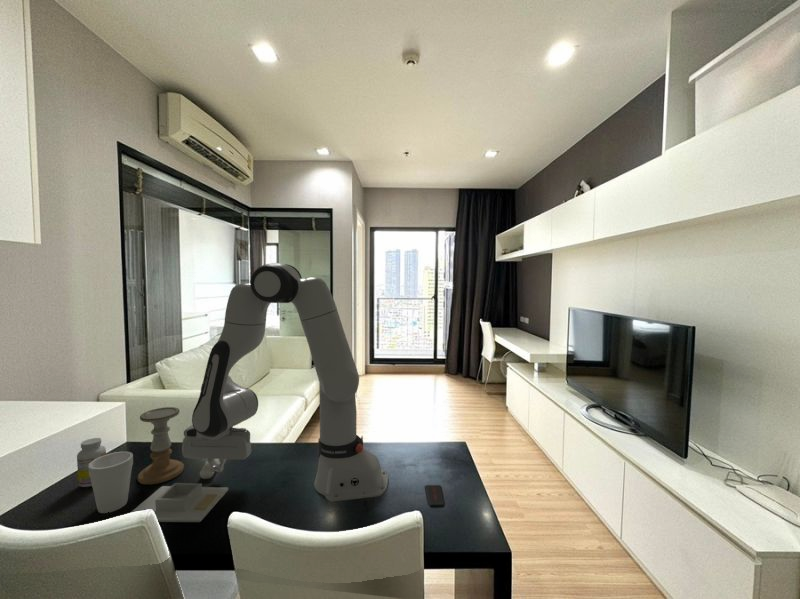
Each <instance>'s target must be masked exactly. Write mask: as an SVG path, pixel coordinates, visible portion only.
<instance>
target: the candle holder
mask: <svg viewBox="0 0 800 599" xmlns="http://www.w3.org/2000/svg"><path fill="white" fill-rule="evenodd" d="M179 414H180V409H179V408H178V407H175V406H174V407H172V406H168V407H167V406H165V407H157V408H154V409H149V410H147V411H145V412H143V413H141V414H140V416H139V419H140V421H141V422H143V423H151V424H152V425H153V429H152V430H151V431H150V434H151V435H152V436H153V437H152V441H151V444H150V450H151V451H152V452H151V453H150V455H149V458H151V459H152V463H151V464H149V465H148V466H146V467H145V468H143V469H142V470H141V471H140V472H138V473H139V474H138V475H137V481H138V483H140V484H141V485H158V484H161V483H162V484H163V483H165V482H168V481H171V480H172V479H174V478H177V477H179V475H181V474H182V473H183V472H184V469H185V464H184V463H183V462H182V461H180V460H177V459H171V457H170V456H171V454H172V452H173V450H172V449H171V446H172V440H171V438H170V435H169V431H171V428H170V427H169V426H168V422H169V421H170V419H173V418H175V417H176V416H179Z"/></svg>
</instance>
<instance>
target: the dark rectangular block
mask: <svg viewBox="0 0 800 599" xmlns="http://www.w3.org/2000/svg"><path fill="white" fill-rule="evenodd" d="M424 492H425V497H426V502H427V503H426V504H427V505H428V506H429V507H431V508H435V507H437V508H438V507H440V508H441V507H445V506H446V503H445V502H446V501H445V497H444V493H443V492H444V491H443V487H442V486H441V485H439V484H436V485H435V484H433V485H432V484H430V485H429V484H427V485H425V486H424Z"/></svg>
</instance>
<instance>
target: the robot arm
mask: <svg viewBox="0 0 800 599" xmlns="http://www.w3.org/2000/svg"><path fill="white" fill-rule="evenodd" d="M290 303H292V304H293V305H294V307H295V308H296V311H297V314H298V317H299V321H300V323H301V326H302V327H301V328H302V329H303V333H304V335H305V338H306V342H307V344H308V348H309V352H310V355H311V358H312V362H313V365H314V370H315V372H316V375H317V379H318V382H319V386H318V387H319V438H318V442H317V454H318V466H317V470H316V472H317V473H316V476H315V480H314V483H313V484H314V485H313V486H314V487H313V488H314V489H315V491H316V492H317V493H318V494H321V495H322V496H324V497H325V499H326V500H327V501H328V502H329V503H330V502H340V501H349V500H350V501H351V500H357V499H364V498H365V499H368V498H376V497H380V496H382V495H383V494H384V493H385V492H386V490H387V489H388V486H389V475H388V472H387V471H386V469H384V468H381V463H380V460H379V458H378V457H377V456H376V455H375V454H374V453H372V452H371V451H369V450H368V449H366V448H365V447H364V438H363V437H364V436H363V435H361V437H360V436H359V435H358V434H357V416H358V415H357V414H358V413H357V402H356V401H357V400H356V393H357V391H358V389H359V388H358V387H359V385H360V376H359V372H358V369H357V366H356V362H355V360H354V357H353V354H352V352H351V348H350V345H349V341H348V339H347V335H346V333H345V331H344V328H343V324H342V323H343V322H342V320H341V318H340V314H339V312H338V308H337V305H336V303H335V300H334V297H333V295H332V293H331V291H330V288H329V287H328V285H327V283H326V281H325V280H323V279H321V277H320V278H319V277H315V276H314V277H312V276H311V277H307V278H303V277H302V275H301V273H300V271H299V270H298V269H297V268H296V267H295V266H293V265H291V264H288V263H283V262H282V263H281V262H273V263H266V264H263V265H260V266H258V268H257V269H256V270H254V272H253V273H252V275H251V277H250V281H249V282H244V283H243V282H242V283H238V284H236V285H235V286H234V287H232V288H231V290H230V293H229V296H228V299H227V303H226V307H225V308H226V309H225V312H224V313H225V314H224V323H223V328H222V330H221V334H220V336H219V337H218V340H217V342H215V343H214V345H213V346H212V348H211V350H210V352H209V356H208V359H207V363H206V366H205V367H206V368H205V372H204V375H203V381H202V384H201V387H200V393H199V397H198V399H197V402H196V405H195V407H194V409H193V411H192V416H191V423H192V424H191V425H190V426H189V427H187V428H186V429H184V430H183V436H184V437H183V438H182V443H181V454H182V456H183V458H185V459H204V460H206V462H208V463H209V465H210V466H211V471H212V472H215V473H222V472H223V471H224V468H225V467H224V466H225V465H224V464H225V463H226V461H227V460H245V459H247V458H248V457H249V456H250V454H251V453H252V444H251V432H250V431H249V430H248V429H247V428H245V427H241V428H239V427H235V426H237V425H239V424H241V423H243V422H245V421H247V420H249V419H251V418H252V417H254V416H255V415H256V414H257V412H258V409H259V400H258V396H257V394H256V393H255V391H253V390H252V389H250V388H248V387H244V386H241V385H240V384H238V383H236V382H235V381H233V379H232V377H231V376H230V375H229V374H230V372H231V370H232V369H233V367H234V366H235V364H236V363H237V362H239V361H240V360H241V359H242V358H243V357H245V356H247V355H248V354H250V353H251V352H253V351H254V350H256V349H257V348H258V347H259V346H260V344H261V343H262V342H263V339H264V336H265V333H266V326H267V324H266V323H267V315H268V314H267V313H268V309H269V306H270V305H271V304H290ZM214 459H219V462H220V464H216V462H215V460H214Z"/></svg>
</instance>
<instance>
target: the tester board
mask: <svg viewBox="0 0 800 599" xmlns="http://www.w3.org/2000/svg"><path fill="white" fill-rule="evenodd" d="M228 491H229V487H220V486H219V487H215V486H214V487H213V486H203V483H202V482H199V483H198V482H197V483H194V482H193V483H192V482H191V483H190V482H175V483H173V484H171V485H170V486H169V485H161V487H159V488H158V489H156V490H155V491H154V492H153V493H152V494H151V495H150V496H148V497H146V499H145V500H144V501H142V502H141V503H140V504H139V505H138V506H137V507H136V508H134V509H133V510H132V511H131V512H134V511H138V510H144V509H153V510H154V511H155V514H156V515H157V518H158V521H159V522H158V523H200V522H202V520H204V518H205V517H207V515H208V514H209V512H210V511H211V510H213V508H214V507H215V505H217V503H218V502H219V501H220V500H221V499H222V498H223V497H224V496H225V495H226V493H227V492H228Z"/></svg>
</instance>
